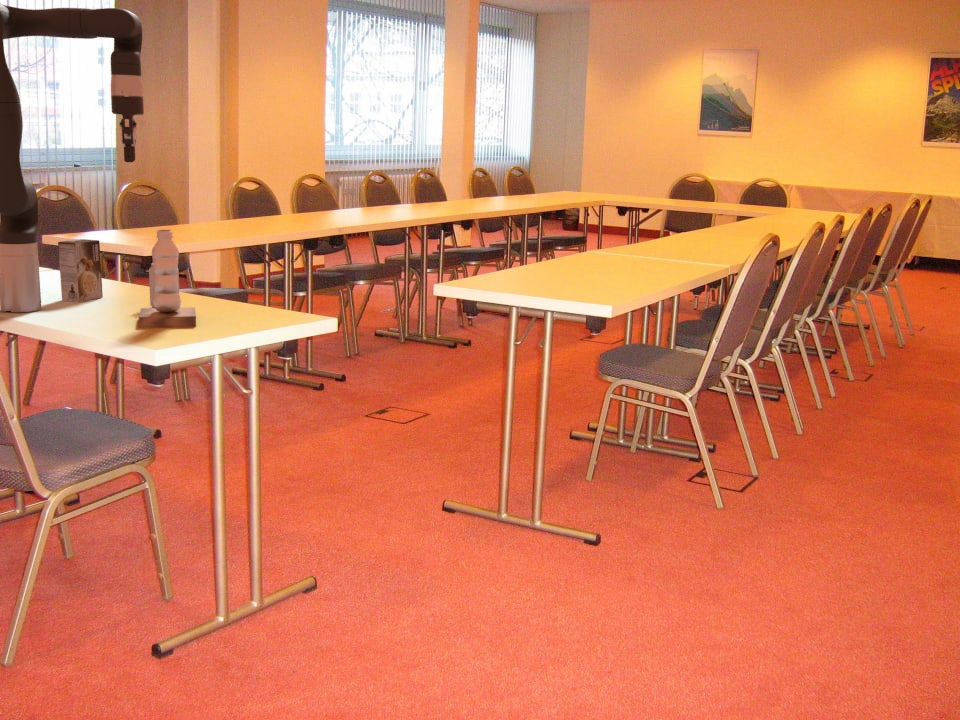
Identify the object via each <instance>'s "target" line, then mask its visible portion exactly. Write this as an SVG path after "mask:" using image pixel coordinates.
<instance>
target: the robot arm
mask: <svg viewBox="0 0 960 720" xmlns="http://www.w3.org/2000/svg"><path fill="white" fill-rule="evenodd" d="M23 37H24V38H25V37H51V38H64V39H86V40H90V39H91V40H92V39H93V40H94V39H97V38H104V39H105V38H107V39H109V38H110V39H113V51H112V52H111V54H110V75H111V77H110V100H111V104H110V105H111V113H112V114H113V115H120V116H122V118H121V120H120V122H119V130H120V138H121V143H122V147H123V157H124V158H123V159H124V162H125V163H134V162H135V161H136V148H135V147H136V142H137V140H138V139H137V138H138V137H137V136H138V135H137V130H138V123H137V122H136V120H135V119H134V116H143V115H144V114H145V110H144V109H145V107H144V105H145V104H144V90H143V89H144V87H143V86H144V85H143V80H142V63H141V52H142V44H143V25H142V22H141V20H140V18H139V17H138V16H137V14H135V13H134V12H132V11H129V10H128V9H124V8H120V7H118V8H115V7H109V8H107V7H106V8H105V7H104V8H95V9H94V8H93V9H91V8H85V7H81V8H80V7H53V8H52V7H51V8H42V9H41V8H40V9H33V8H32V9H31V8H30V9H29V8H21V7H16V6H10V5H5V4H2V3H1V2H0V312H6V311H11V312H10V313H28V312H36V311H40V310H42V296H41V294H42V292H41V280H40V279H41V278H40V264H39V263H40V262H39V261H40V260H39V247H38V232H39V226H40V225H39V224H40V221H39V220H40V219H39V218H40V217H39V201H38V200H39V199H38V194H37V191H36V188H35V187H34V185H33V184H32V183H31V182H30V181H29V180H27V179H24V176H23V173H22V166H21V157H20V156H21V155H20V154H21V144H22V137H23V127H24V126H23V125H24V124H23V123H24V122H23V111H22V105H21V99H20V94H19V91H18V88H17V85H16V83H15V80H14V78H13V76H12V73H11V71H10V69H9V67H8V62H7V60H6V55H5V47H4V45H5V44H4V40H7V39H16V38H23Z"/></svg>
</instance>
